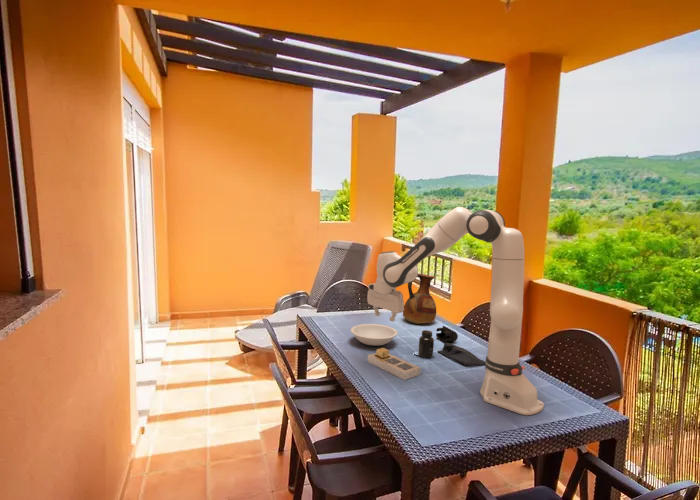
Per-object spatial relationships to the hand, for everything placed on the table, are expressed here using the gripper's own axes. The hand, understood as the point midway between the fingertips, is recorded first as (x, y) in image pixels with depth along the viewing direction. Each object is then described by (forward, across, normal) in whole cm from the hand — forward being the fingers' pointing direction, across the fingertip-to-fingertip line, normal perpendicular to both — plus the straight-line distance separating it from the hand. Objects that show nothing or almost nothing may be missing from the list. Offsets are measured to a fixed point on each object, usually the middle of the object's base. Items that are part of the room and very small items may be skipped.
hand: (384, 318), depth 181 cm
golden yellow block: (+20, 0, 0) cm, 21 cm away
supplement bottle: (+21, -5, -23) cm, 31 cm away
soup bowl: (+21, +22, -14) cm, 33 cm away
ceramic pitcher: (+21, +36, -64) cm, 76 cm away
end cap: (+21, +4, -50) cm, 54 cm away
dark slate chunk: (+21, -16, -36) cm, 45 cm away
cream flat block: (+20, -7, 0) cm, 22 cm away
